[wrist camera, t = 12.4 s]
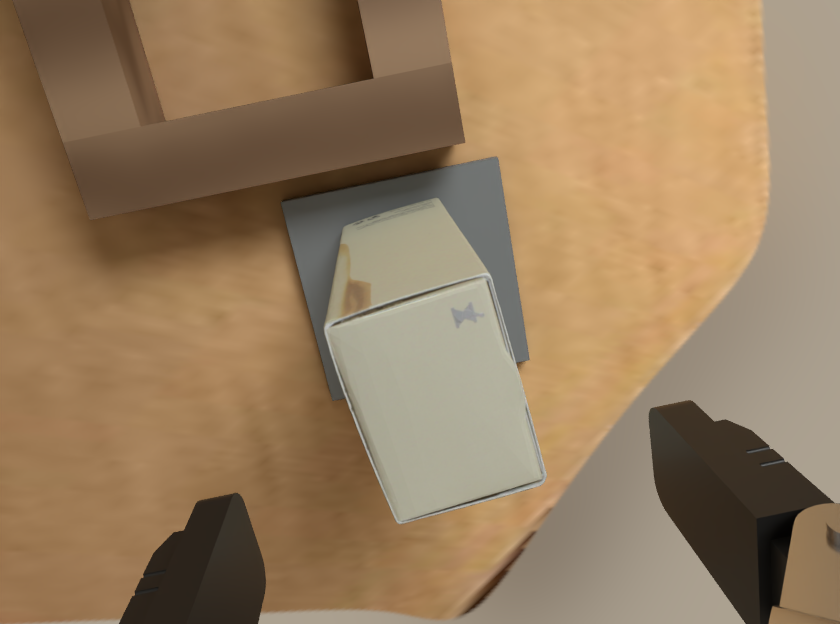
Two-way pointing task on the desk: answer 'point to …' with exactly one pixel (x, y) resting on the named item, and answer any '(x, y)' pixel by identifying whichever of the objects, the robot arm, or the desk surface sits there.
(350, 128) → the collar
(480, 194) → the mat
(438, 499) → the skincare box
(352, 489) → the desk surface
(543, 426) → the desk surface
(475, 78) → the desk surface
